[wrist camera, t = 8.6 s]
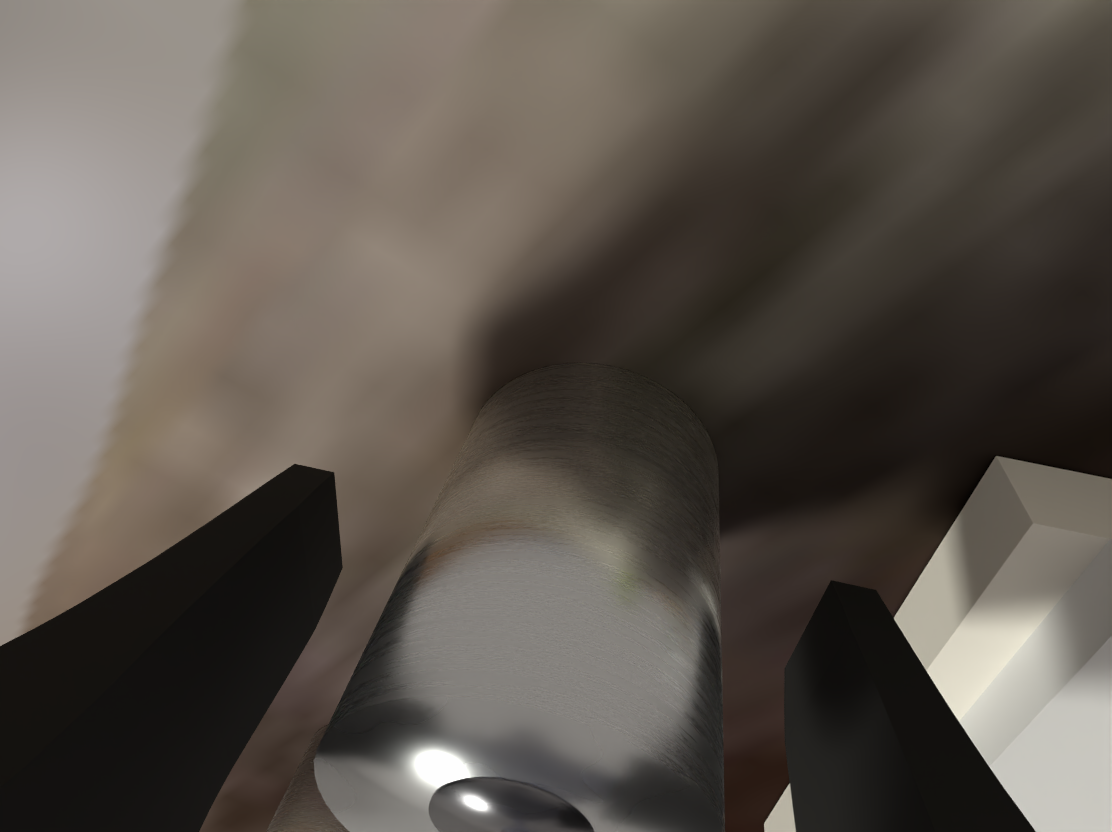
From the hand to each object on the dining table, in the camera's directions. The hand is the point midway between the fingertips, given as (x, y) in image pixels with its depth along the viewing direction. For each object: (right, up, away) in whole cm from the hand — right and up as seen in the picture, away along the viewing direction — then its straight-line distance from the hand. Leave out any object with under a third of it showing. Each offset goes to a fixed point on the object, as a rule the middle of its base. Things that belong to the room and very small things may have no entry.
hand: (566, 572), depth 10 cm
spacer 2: (0, +1, +2) cm, 3 cm away
